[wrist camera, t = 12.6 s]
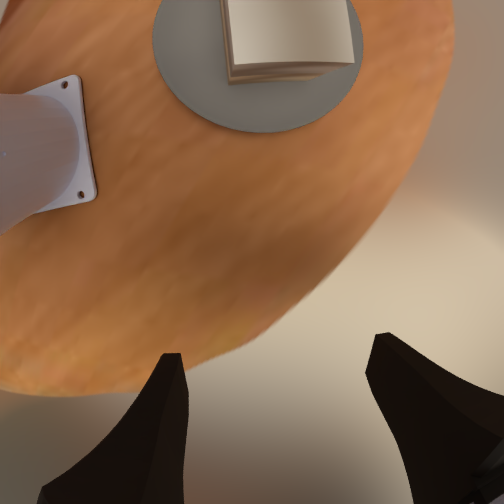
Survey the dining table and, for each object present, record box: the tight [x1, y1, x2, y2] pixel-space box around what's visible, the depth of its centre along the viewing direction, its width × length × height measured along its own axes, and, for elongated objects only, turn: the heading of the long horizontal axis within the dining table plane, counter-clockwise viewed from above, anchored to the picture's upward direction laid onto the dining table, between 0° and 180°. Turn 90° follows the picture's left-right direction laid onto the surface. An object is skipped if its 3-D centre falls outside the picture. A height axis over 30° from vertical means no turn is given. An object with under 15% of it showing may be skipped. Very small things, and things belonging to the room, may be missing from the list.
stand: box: [153, 0, 363, 133], centre depth 14 cm, size 11×11×2 cm
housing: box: [219, 0, 354, 85], centre depth 10 cm, size 4×6×6 cm, turn 5°
